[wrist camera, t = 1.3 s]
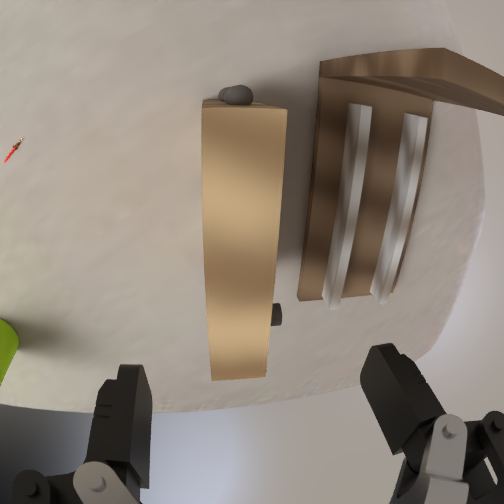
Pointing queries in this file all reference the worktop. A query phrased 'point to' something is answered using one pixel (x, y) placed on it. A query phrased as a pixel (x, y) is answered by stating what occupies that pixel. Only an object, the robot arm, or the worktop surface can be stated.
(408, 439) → the robot arm
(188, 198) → the worktop surface
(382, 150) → the hinge base
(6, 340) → the soap dispenser
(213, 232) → the oak door
